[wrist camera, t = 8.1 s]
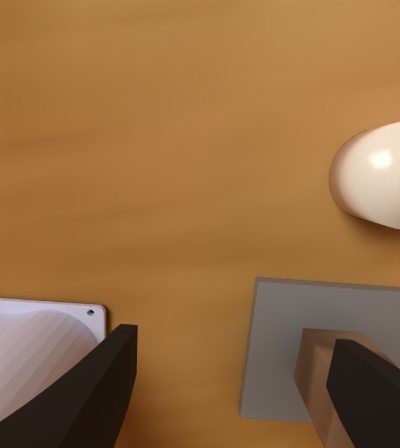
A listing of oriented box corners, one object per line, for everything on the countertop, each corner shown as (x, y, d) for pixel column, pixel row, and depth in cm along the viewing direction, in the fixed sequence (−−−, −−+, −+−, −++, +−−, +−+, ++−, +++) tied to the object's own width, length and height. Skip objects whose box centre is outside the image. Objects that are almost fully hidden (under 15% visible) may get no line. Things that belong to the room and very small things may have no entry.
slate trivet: (238, 409, 21) (239, 418, 20) (256, 277, 18) (258, 281, 18) (378, 417, 21) (385, 427, 20) (415, 288, 19) (424, 293, 18)
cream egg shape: (320, 214, 18) (349, 225, 14) (337, 124, 16) (373, 112, 13) (404, 220, 18) (453, 233, 14) (427, 132, 16) (487, 122, 13)
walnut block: (293, 378, 19) (325, 449, 14) (303, 327, 18) (340, 385, 14) (350, 382, 19) (400, 454, 15) (362, 332, 18) (421, 390, 14)
